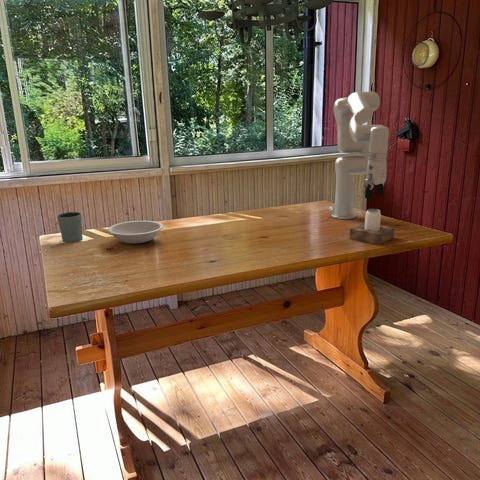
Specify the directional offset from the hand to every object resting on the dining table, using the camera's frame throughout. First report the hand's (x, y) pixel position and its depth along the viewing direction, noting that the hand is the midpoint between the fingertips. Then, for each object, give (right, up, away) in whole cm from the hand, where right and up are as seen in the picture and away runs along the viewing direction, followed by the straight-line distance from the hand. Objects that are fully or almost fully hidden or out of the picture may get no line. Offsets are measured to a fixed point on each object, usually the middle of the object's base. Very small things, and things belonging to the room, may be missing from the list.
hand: (373, 196), depth 194 cm
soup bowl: (-104, -20, +5) cm, 106 cm away
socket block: (0, -18, +5) cm, 19 cm away
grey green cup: (-134, -19, +8) cm, 135 cm away
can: (0, -18, +5) cm, 18 cm away
